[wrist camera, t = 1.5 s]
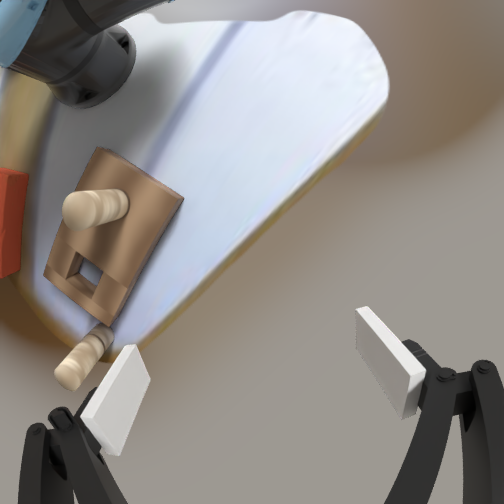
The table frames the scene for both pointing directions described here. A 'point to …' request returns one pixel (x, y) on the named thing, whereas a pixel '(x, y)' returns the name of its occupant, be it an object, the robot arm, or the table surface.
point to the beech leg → (84, 357)
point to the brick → (11, 219)
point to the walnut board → (109, 232)
